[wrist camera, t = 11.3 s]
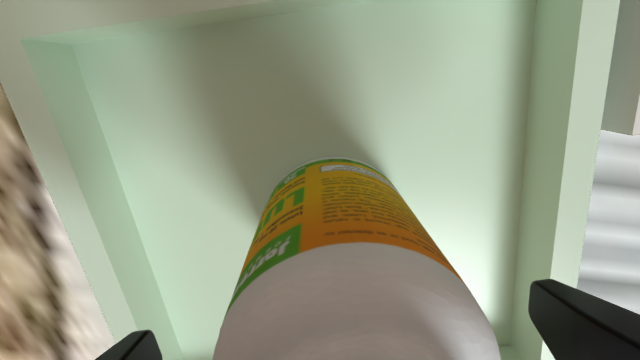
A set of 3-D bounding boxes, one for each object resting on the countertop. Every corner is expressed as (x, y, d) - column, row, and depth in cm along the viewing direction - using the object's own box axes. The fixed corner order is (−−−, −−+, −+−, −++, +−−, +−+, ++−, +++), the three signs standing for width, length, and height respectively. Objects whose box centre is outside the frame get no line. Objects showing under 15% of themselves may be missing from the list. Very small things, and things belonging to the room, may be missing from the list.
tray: (522, 348, 16) (559, 397, 13) (183, 389, 16) (160, 445, 14) (559, -60, 10) (635, -101, 8) (43, 18, 10) (-36, 2, 8)
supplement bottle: (289, 133, 11) (186, 392, 2) (424, 180, 12) (800, 536, 3) (247, 256, 13) (82, 720, 4) (369, 293, 14) (490, 760, 4)
